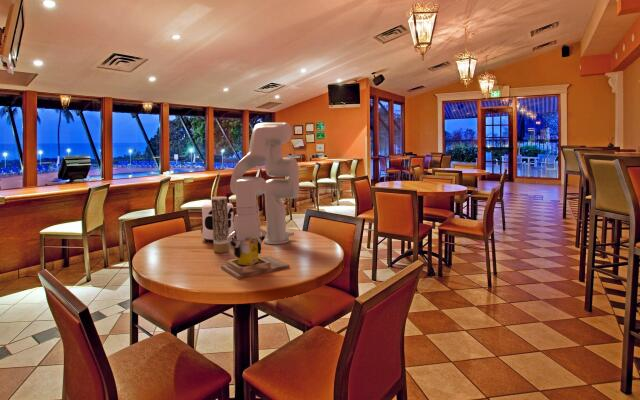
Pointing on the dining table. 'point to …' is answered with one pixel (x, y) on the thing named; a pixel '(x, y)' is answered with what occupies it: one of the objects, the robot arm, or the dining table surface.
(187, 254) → the dining table surface
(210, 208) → the milk container
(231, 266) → the board
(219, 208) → the wooden log
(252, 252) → the supplement box
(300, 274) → the dining table surface
